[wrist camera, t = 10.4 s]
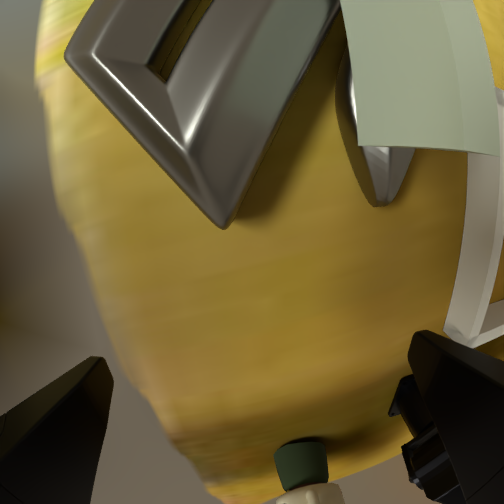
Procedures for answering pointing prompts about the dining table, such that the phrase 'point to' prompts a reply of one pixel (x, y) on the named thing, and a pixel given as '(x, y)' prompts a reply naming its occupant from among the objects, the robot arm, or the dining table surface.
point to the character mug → (305, 475)
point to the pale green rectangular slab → (421, 75)
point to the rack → (480, 250)
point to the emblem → (219, 90)
